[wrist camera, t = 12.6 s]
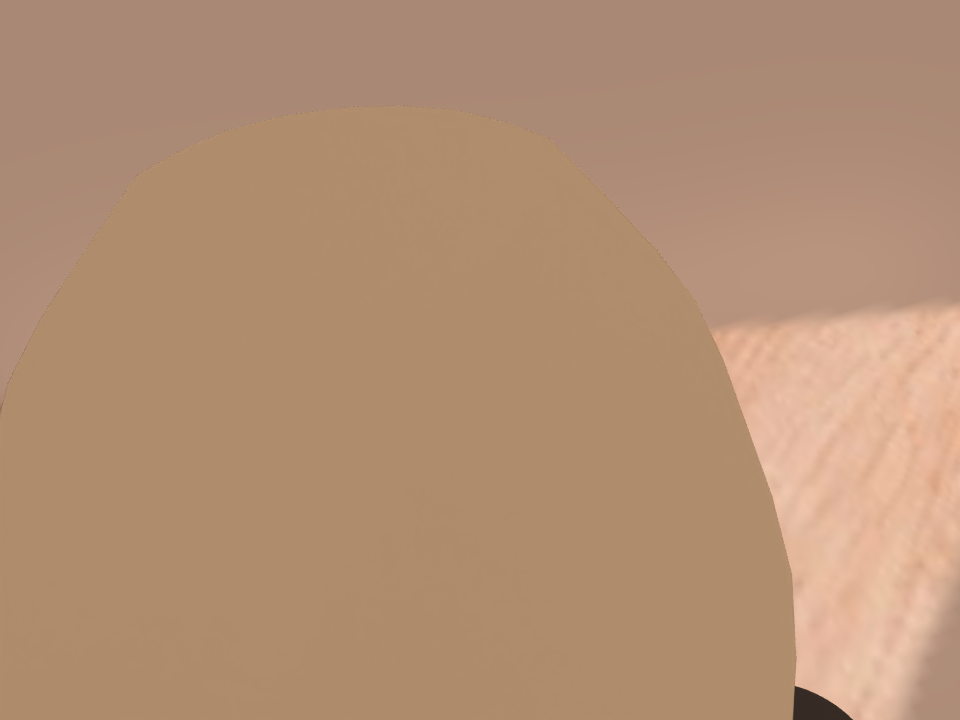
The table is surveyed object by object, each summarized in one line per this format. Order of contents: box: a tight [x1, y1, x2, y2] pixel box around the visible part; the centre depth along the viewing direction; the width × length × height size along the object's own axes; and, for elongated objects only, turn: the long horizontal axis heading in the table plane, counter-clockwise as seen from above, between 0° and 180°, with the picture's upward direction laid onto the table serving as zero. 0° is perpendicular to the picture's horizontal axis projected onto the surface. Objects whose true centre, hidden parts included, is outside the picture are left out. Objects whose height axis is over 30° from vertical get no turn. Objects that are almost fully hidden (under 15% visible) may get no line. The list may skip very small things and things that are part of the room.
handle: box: [0, 106, 796, 720], centre depth 11 cm, size 5×6×15 cm
